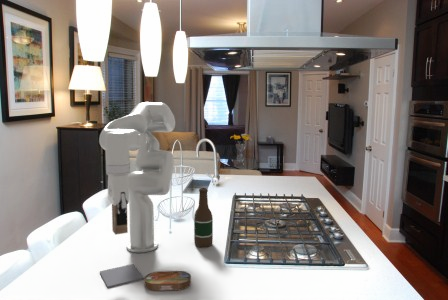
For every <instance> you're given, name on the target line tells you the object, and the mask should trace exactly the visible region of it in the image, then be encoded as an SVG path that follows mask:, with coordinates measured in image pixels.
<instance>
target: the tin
mask: <svg viewBox="0 0 448 300" xmlns="http://www.w3.org/2000/svg"><path fill="white" fill-rule="evenodd" d="M191 279H192V275H191V273H189V272H187V271H184V270H183V271H182V270H175V271H174V270H167V271H166V270H165V271H164V270H161V271H160V270H159V271H158V270H157V271H153V272H149V273H147V275H145V276H144V279H143V280H144V285H145V288H146V289H147V290H149V291H155V292H156V291H157V292H158V291H182V290H185V289H187V288H188V287H190V285H191Z"/></svg>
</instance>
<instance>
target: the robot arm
mask: <svg viewBox="0 0 448 300" xmlns="http://www.w3.org/2000/svg"><path fill="white" fill-rule="evenodd" d="M175 126H176V118H175V115H174V113H173V112H172V110H171V108H170V106H168V105H167V104H166V103H165V102H161V101H160V102H155V101H154V102H151V101H150V102H149V101H145V102H139V103H137V104H136V105H135V106H134V107H133V109H132V110H131V111H130V112H129V114H128V115H125V116H122V117H119V118H117V119H114V120H112V121H110V122H108V123H107V124H106V125H105V126H104V127H103V128H102V130H101V132H100V134H99V138H98V139H99V140H98V143H99V145H100V147H101V149H103V150H104V151H105V171H106V172H105V173H106V174H105V175H107V176H108V177H107V200H108V201H109V203H111V205H112V204H113V205H114V206H116V205H117V214H116V219H117V226H120V225H126V224H127V225H128V210H127V211H126V208H127V209H128V206H129V236H130V237H129V238H130V241H129V242H128V243H127V244H126V250H127V251H129V252H132V253H136V254H138V253H139V254H141V253H142V254H143V253H148V252H151V251H154V250H156V249H158V247H159V242H158V241H157V240H155V222H154V219H155V218H154V217H155V215H154V203H153V201H152V199H151V198H150V196H165V195H167V194H169V192H170V189H171V185H172V179H173V173H174V167H175V166H174V165H175V160H174V159H175V158H174V155H173V153H172V152H171V151H169V150H161V149H160V142H159V140H158V139H157V138H156V137H155V136H154V135H153V134H152V133H171V132H173V131H174V130H175ZM136 151H137V153H136V157H135V164H134V165H135V169H136V170H134V171H132V172H131V162H130V161H131V159H130V157H131V156H130V152H136ZM126 200H127V201H126ZM119 202H121V204H119ZM126 204H127V205H126ZM128 204H129V205H128ZM119 206H121V207H120V209H119ZM126 212H127V213H126Z"/></svg>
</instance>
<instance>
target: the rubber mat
mask: <svg viewBox="0 0 448 300" xmlns="http://www.w3.org/2000/svg"><path fill="white" fill-rule="evenodd" d="M99 275H100V276H101V278H102V280H103V282H104V283H105V285H106V288H107V289H110V288H114V287H118V286H122V285H126V284H127V285H128V284H130V283H134V282H140V281H143V280H144V278H145V276H144V275H143V274H142V273H141V271H140V270H139V268H137V266H136V265H135V264H134V263H132V264H126V265H123V266H118V267H114V268H108V269H105V270H104V269H103V270H100V271H99Z"/></svg>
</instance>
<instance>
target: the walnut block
mask: <svg viewBox="0 0 448 300" xmlns="http://www.w3.org/2000/svg"><path fill="white" fill-rule="evenodd" d="M126 201H127V200H126ZM119 204H121V202H119ZM126 205H127V206H128V204H126ZM120 207H121V206H119V209H120ZM111 211H112V212H111V215H112V216H111V218H112V219H111V220H112V223H111V224H112V232H113V233H114V235H123V234H127V233H129V232H128V223H127V224H126V225H120V226H117V219H116V214H117V205H116V206H114V205H113V204H112V203H111ZM126 211H127V212H126V213H127V214H128V207H127V208H126Z"/></svg>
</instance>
